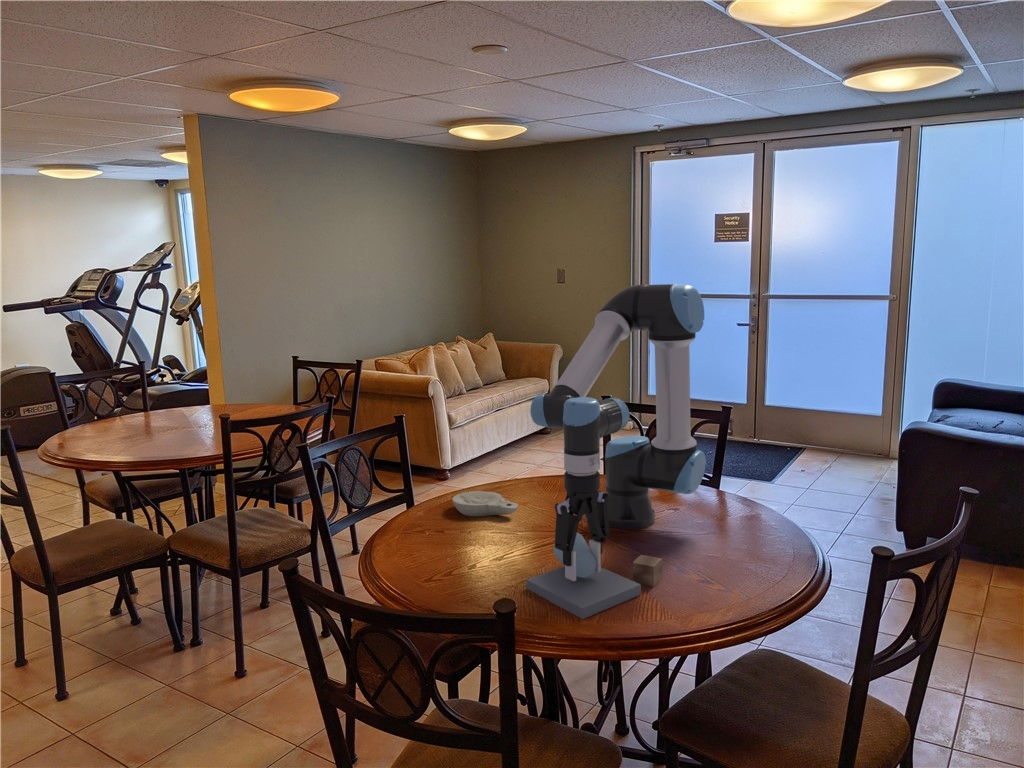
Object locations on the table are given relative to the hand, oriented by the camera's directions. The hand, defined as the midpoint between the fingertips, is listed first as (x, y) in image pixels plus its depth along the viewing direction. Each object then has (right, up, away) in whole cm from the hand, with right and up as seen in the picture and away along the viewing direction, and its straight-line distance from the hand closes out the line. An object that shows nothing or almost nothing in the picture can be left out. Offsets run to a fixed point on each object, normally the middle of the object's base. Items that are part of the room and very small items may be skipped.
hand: (583, 574), depth 160 cm
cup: (-1, -2, 0) cm, 2 cm away
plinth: (0, -4, +1) cm, 4 cm away
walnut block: (+15, -3, +6) cm, 16 cm away
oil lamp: (-22, +3, +52) cm, 57 cm away
